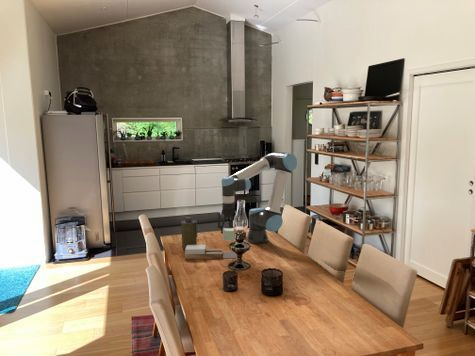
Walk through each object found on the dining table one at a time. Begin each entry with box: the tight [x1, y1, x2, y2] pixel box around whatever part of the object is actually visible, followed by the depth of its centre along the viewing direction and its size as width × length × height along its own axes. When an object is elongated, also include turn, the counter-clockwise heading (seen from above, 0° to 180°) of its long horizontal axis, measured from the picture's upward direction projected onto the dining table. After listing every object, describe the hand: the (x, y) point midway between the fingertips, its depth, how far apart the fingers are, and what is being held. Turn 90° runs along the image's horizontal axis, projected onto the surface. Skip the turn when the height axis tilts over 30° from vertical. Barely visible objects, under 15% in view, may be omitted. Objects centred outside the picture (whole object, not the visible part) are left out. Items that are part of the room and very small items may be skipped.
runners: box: [184, 248, 223, 260], centre depth 240 cm, size 9×23×3 cm, turn 91°
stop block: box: [223, 227, 235, 241], centre depth 239 cm, size 6×6×6 cm
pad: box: [222, 251, 237, 259], centre depth 241 cm, size 10×8×1 cm
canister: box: [180, 216, 198, 249], centre depth 259 cm, size 11×10×20 cm
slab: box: [184, 244, 207, 255], centre depth 240 cm, size 9×12×3 cm
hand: (228, 238), depth 239 cm, fingers closed on stop block, 6 cm apart
